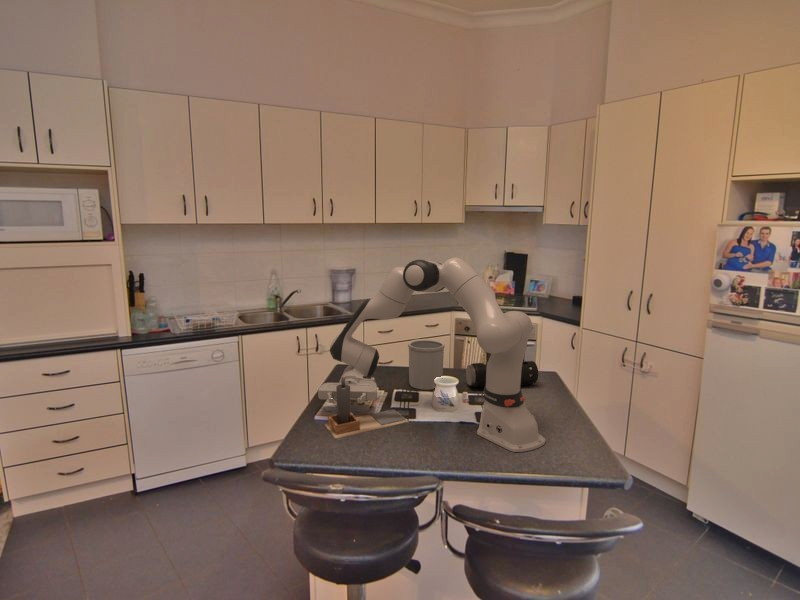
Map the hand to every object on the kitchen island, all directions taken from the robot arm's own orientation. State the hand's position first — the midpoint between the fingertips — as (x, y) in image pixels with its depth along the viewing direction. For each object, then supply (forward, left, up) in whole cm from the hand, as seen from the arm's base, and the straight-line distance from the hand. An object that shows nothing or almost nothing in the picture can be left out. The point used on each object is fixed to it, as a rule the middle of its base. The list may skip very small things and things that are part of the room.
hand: (344, 401), depth 154 cm
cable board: (-3, -7, -9) cm, 12 cm away
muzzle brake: (+6, -71, -10) cm, 71 cm away
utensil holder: (+22, -44, -10) cm, 50 cm away
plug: (-2, +1, -8) cm, 8 cm away
